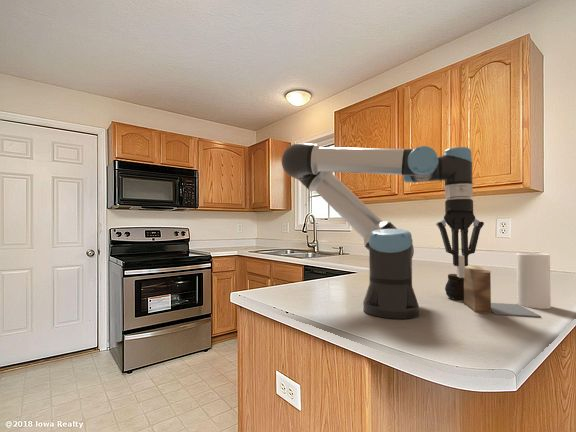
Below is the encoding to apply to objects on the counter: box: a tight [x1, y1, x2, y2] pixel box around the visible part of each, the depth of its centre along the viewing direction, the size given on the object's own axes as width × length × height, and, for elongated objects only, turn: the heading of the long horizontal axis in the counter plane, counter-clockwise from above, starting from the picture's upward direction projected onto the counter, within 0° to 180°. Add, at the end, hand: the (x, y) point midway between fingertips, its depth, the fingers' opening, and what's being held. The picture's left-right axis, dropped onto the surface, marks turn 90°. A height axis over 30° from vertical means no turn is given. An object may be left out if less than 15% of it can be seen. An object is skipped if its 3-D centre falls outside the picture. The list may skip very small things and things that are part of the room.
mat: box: [491, 302, 542, 318], centre depth 93 cm, size 11×13×1 cm
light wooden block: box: [463, 265, 492, 314], centre depth 95 cm, size 4×10×12 cm, turn 167°
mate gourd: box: [444, 273, 464, 301], centre depth 107 cm, size 7×8×10 cm
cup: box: [516, 252, 552, 310], centre depth 98 cm, size 8×8×16 cm
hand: (460, 276), depth 96 cm, fingers closed
